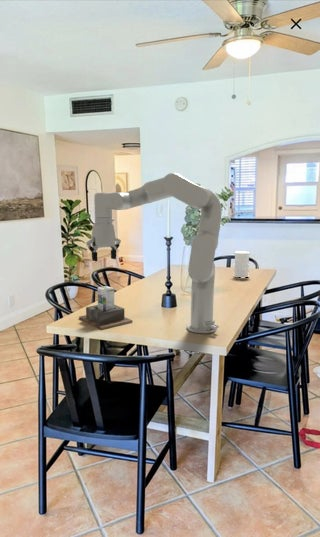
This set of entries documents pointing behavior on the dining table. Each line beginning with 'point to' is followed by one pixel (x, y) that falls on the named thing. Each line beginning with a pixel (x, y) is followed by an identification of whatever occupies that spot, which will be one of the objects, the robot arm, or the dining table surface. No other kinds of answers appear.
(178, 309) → the dining table surface
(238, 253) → the decorative container
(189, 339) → the dining table surface
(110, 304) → the syrup box
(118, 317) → the socket stand
